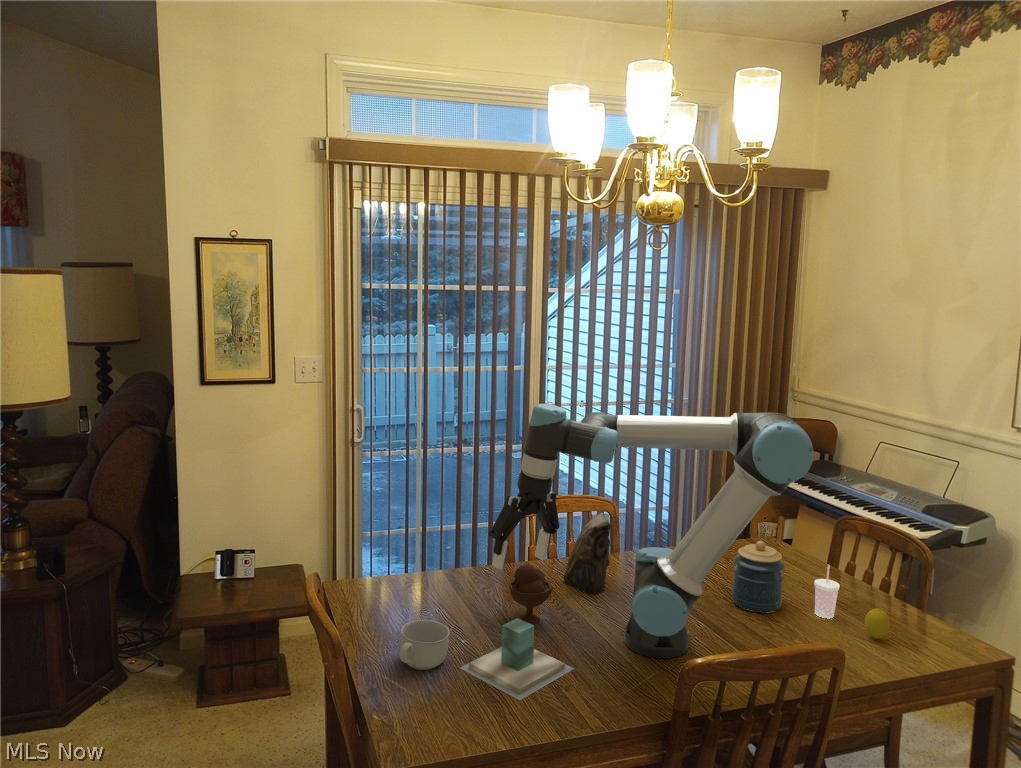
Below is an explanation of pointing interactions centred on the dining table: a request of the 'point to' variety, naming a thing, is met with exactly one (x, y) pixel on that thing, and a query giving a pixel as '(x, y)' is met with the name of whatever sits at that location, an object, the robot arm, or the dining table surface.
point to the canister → (758, 578)
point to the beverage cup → (825, 596)
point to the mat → (512, 693)
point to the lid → (517, 659)
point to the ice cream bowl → (529, 590)
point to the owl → (590, 557)
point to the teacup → (424, 644)
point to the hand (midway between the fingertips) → (518, 562)
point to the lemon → (877, 623)
